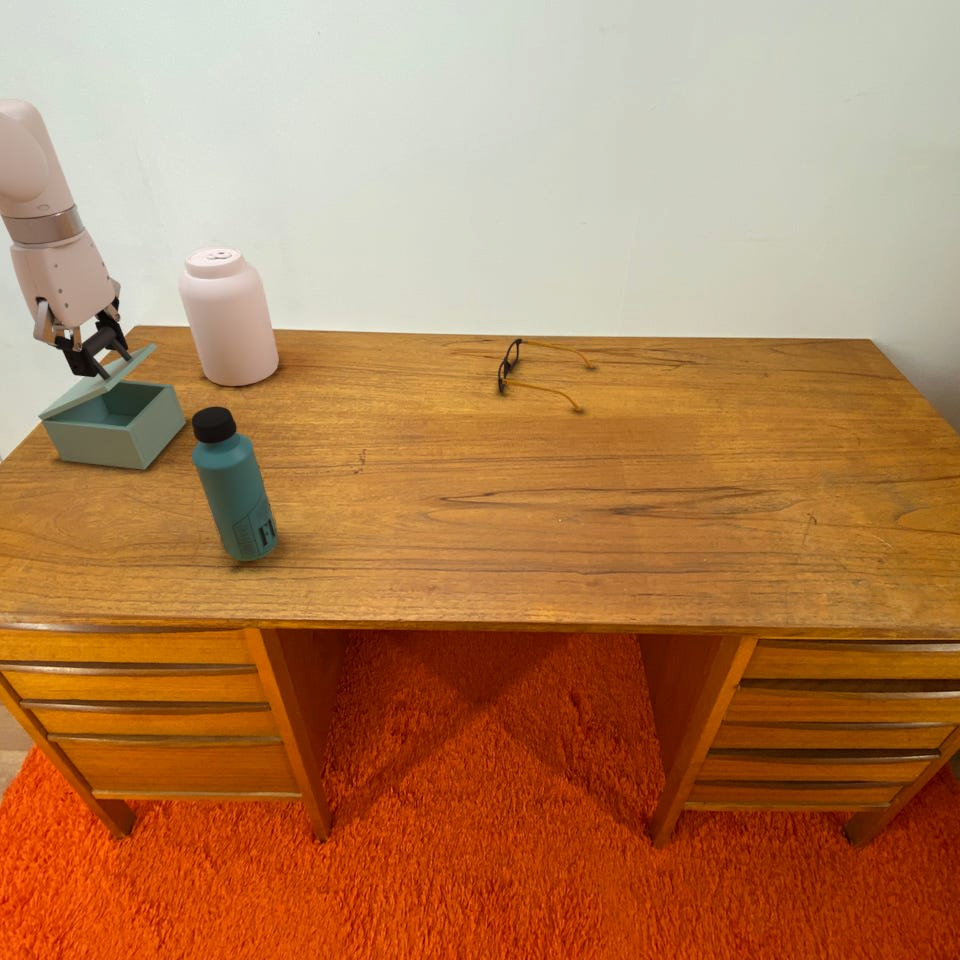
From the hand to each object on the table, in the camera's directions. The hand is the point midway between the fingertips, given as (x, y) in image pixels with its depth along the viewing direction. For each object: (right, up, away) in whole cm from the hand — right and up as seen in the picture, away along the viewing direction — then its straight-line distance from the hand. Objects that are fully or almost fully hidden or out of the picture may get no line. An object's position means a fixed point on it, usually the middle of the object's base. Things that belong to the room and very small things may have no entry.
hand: (101, 361), depth 85 cm
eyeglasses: (+61, 0, +23) cm, 66 cm away
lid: (-2, -3, +3) cm, 4 cm away
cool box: (-2, -10, +9) cm, 14 cm away
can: (+10, +3, +25) cm, 27 cm away
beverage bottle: (+23, -25, -7) cm, 35 cm away
